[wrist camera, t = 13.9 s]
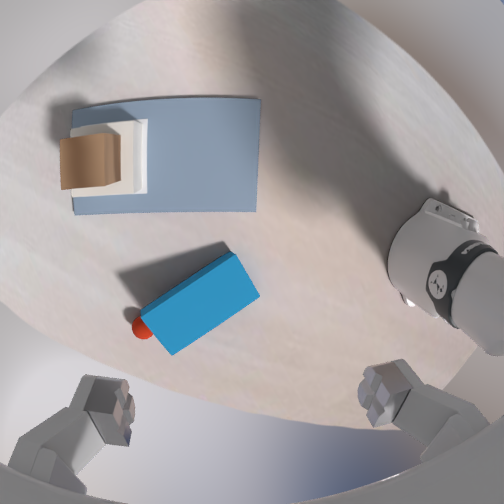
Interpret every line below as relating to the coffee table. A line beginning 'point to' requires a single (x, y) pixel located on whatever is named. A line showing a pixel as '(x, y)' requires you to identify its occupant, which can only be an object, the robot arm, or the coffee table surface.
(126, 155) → the base block
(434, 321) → the coffee table surface
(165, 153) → the board
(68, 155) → the walnut cube
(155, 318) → the lever
